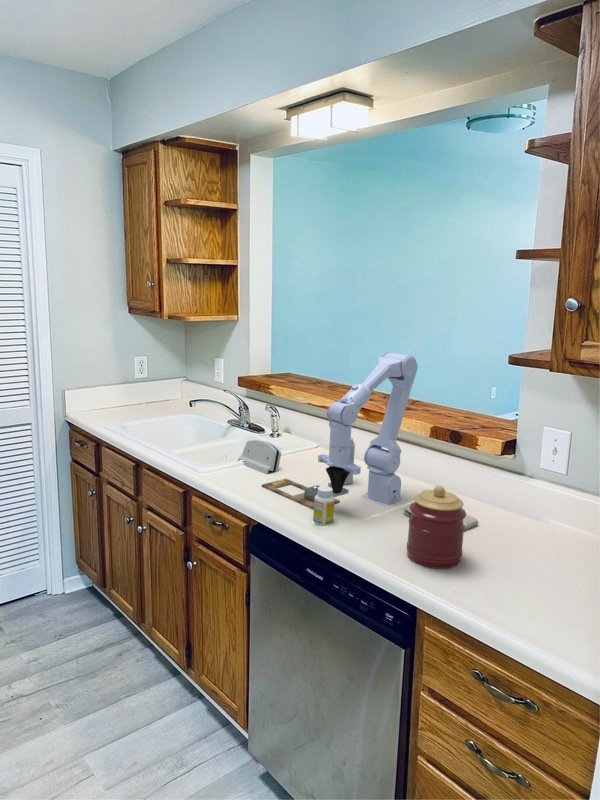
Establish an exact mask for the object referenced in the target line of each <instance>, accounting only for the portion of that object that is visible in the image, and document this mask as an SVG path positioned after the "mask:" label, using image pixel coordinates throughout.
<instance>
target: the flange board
mask: <svg viewBox="0 0 600 800" xmlns="http://www.w3.org/2000/svg"><path fill="white" fill-rule="evenodd" d="M288 486H293V487H295V488H298V489H300V490H302V491H304V492H305V488H309V487H308V486H306V485H303V484H300V483H298V482H296V481H293V480H291V479H289V478H282V479H279V480H275V481H271V482H267V483H266V482H265V483H263V484H261V487H262V488H264V489H266V490H268V491H270V492H273V493H275V494H277V495H279V496H281V497H283V498H286V499H289V500H290V501H293V502H294V503H298V504H299V505H302V506H304V507H306V508H308V509H311V510H313V511H314V502H312V501H309V500H307V499H305V498H304V492H302V493H301V492H300V493H298V494H295V495H292V494H290V493H287V492H285V491H284V490H281V489H280V488H284V487H288ZM339 503H341V499H337V498H336V497H334V505H337V504H339Z"/></svg>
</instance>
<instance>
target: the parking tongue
mask: <svg viewBox="0 0 600 800" xmlns="http://www.w3.org/2000/svg"><path fill="white" fill-rule="evenodd" d="M327 486H328V487H331V488H332V485H331V482H328V485H327ZM349 491H350V490H349V489H348V488H345V487H343V488H342V491H341V493H338V494H335V493H332V496H333V497H334V498H336V497H340V496H343V495H346V494H349Z"/></svg>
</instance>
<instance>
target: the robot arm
mask: <svg viewBox="0 0 600 800" xmlns="http://www.w3.org/2000/svg"><path fill="white" fill-rule="evenodd" d="M418 368H419V365H418V361H417V359H416V357H415V356H414V355H411V354H401V353H397V352H396V353H395V352H390V351H385V352H384V353H382V355H381V356H380V357H378V359H377V365H376V366H375V367H374V369H373V370H372V371H371V372H370V373H369V375H368V376H367V377H366V378H365V379H364V380H363V382H362V383H356V384H353V385H352V386H351V389H350V390H348V391H347V393H345V395H344V396H343V397H341V399H340V400H338V401H334V402H332V403H331V404H330V405H329V406H328V409H327V411H326V414H325V415H326V419H328V426H329V428H330V430H329V448H328V454H324V453H322V454H318V455H317V456H318V457H317V462H318V463H324V464H326V466H328V467H326V468H325V471H326V473H327V475H328V477H329V480H330V483H331V485H332V489H333V493H335V494H338V493H341V491H342V488H344V486H345V485H344V482H345V480H346V478H347V477H348V475H349V473H350V472H351V473H353V476H354V475H355V476H357V475H360V474H361V469H362V468H361V466H360V465H357V464H355V462H354V463H352V462H351V461H349V458H350V441H351V438H352V437H351V436H352V425H353V424H354V423H356V421H357V419H358V418H357V417H358V415H359V413H360V410H361V409H362V408H363V406H364V405H366V404H367V402H369V401H370V399H371V393H372V392H373V391H374V390H375V389H376V388H378V387H379V386H380V385H381V384H382V383H383V382H384V381H385V380H386V379H387V380H388V381H390V383H391V385H392V389H391V393H390V395H389V398H388V403H387V406H386V410H385V412H384V416H383V419H382V422H381V427H380V429H379V433H378V436H377V437H375V438H373V439H372V440H370V441H369V445H368V447H367V448H366V450H365V451H364V455H363V460H364V464H365V465H366V466H367V469H368V479H367V481H368V483H367V485H368V486H367V493H366V494H363V495H361V497H362V498H365V499H367V500H370V501H372V502H375V503H377V504H380V505H383V506H388V505H391V504H394V503H397V502H400V501H402V499H401V490H402V489H401V487H402V480H401V477H400V476H398V475H397V474H396V471H397V470H398V469H399V468H400V465H401V453H402V449H401V447H400V446H399V444H398V443H397V438H398V435H399V433H400V428H401V425H402V422H403V418H404V416H405V411H406V407H407V404H408V401H409V399H410V394H411V391H412V387H413V385H414V382H415V380H416V379H415V378H416V375H417V372H418Z"/></svg>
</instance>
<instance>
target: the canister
mask: <svg viewBox="0 0 600 800" xmlns="http://www.w3.org/2000/svg"><path fill="white" fill-rule="evenodd" d="M413 499H414V501H413V502H412V503H411V504H410V506H409V507H410V511H411V512H412V514H411V517H410V518H409V517H408V518H409V519H408V533H407V542H406V550H407V551H406V554H407V556H408V558H409V559H410V560H411V561H412V562H415V563H416V564H418V563H419V565H422V566H424V567H429V568H433V567H435V569H448V567H450V568H453V567H456V566H457V565H459V564H460V563H461V559H462V557H463V543H464V542H463V541H464V533H465V530H464V529H465V526H464V524H463V519H464V518H465V517H466V515H467V512H466V510H465V509H464V508H463V507H464V501H463V500H462V499H461V498H459V497H458V496H457V495H456V494H454V493H452V492H451V491H450V492H449V491H446V489H445V488H444V486H441V485H437V486H435V487H434V489H427V490H426V489H425V490H423V491H421V492H420V493H417V494H416V495H414V497H413ZM459 562H460V563H459ZM458 563H459V564H458ZM455 565H456V566H455ZM452 566H453V567H452Z"/></svg>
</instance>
